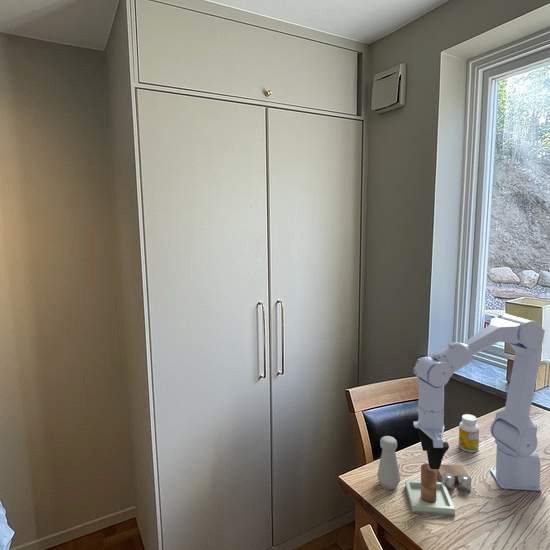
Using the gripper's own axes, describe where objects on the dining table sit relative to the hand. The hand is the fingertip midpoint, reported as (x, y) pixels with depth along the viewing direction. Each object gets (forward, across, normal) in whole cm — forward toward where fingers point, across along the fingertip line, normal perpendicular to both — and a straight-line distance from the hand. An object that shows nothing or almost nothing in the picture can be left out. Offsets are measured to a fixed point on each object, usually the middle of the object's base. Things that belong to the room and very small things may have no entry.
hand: (430, 459), depth 98 cm
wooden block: (+11, -9, +8) cm, 16 cm away
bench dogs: (+10, -4, +7) cm, 13 cm away
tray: (+10, +1, -1) cm, 10 cm away
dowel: (+10, +1, -1) cm, 10 cm away
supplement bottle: (+11, -24, +16) cm, 31 cm away
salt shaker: (+10, -4, -10) cm, 15 cm away
